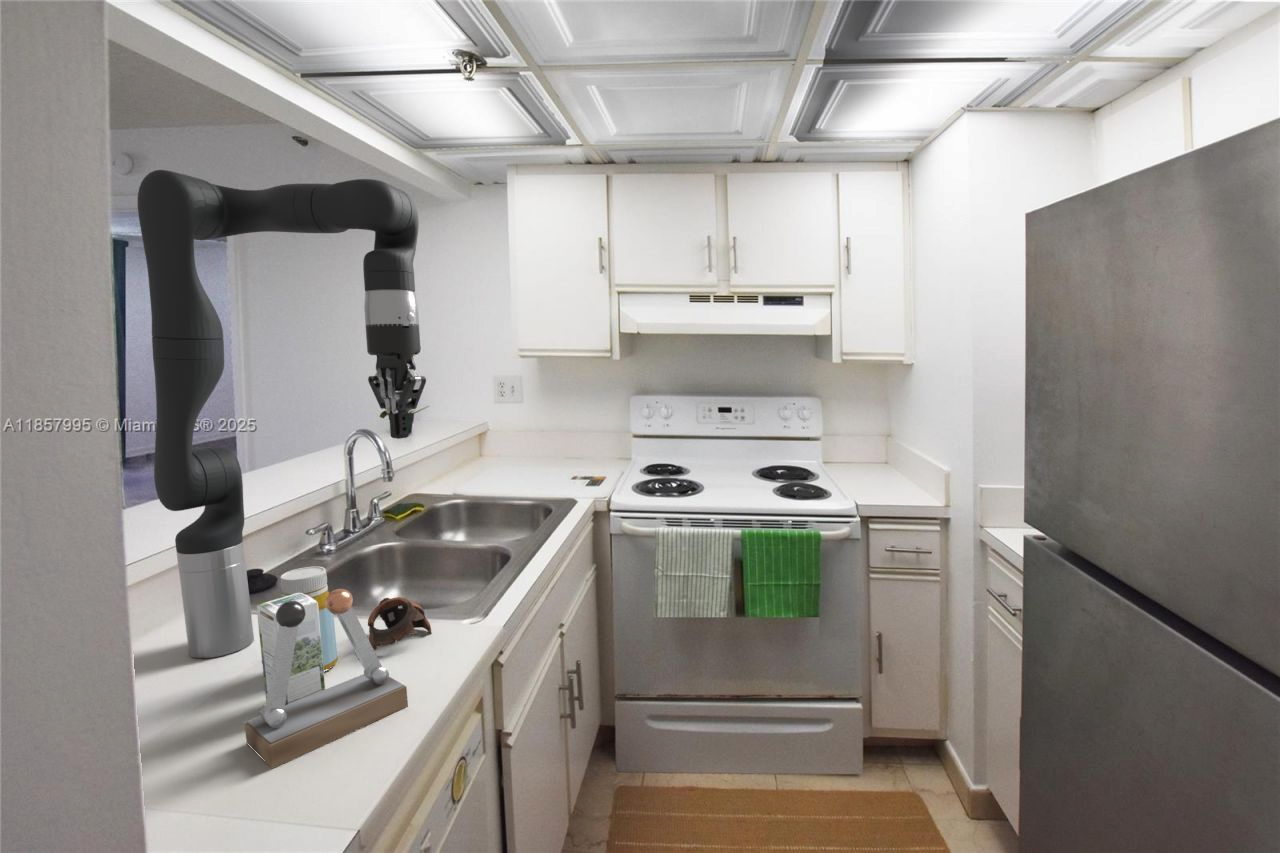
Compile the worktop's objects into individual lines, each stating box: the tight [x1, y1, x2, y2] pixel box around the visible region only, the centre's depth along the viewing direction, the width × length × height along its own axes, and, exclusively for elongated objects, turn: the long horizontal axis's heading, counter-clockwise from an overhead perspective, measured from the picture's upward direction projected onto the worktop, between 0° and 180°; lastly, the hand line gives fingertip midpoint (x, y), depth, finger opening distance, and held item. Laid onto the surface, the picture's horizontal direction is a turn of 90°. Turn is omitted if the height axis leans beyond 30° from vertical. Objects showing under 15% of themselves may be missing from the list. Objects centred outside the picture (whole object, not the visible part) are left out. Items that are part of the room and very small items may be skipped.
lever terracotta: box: [326, 588, 390, 685], centre depth 88 cm, size 3×3×15 cm
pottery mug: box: [367, 596, 433, 650], centre depth 111 cm, size 12×10×8 cm
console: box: [244, 673, 409, 769], centre depth 85 cm, size 8×17×3 cm, turn 139°
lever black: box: [259, 601, 305, 728], centre depth 81 cm, size 3×3×15 cm
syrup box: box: [256, 593, 326, 705], centre depth 91 cm, size 6×6×14 cm
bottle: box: [280, 566, 338, 670], centre depth 101 cm, size 7×7×15 cm
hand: (400, 437), depth 102 cm, fingers closed
